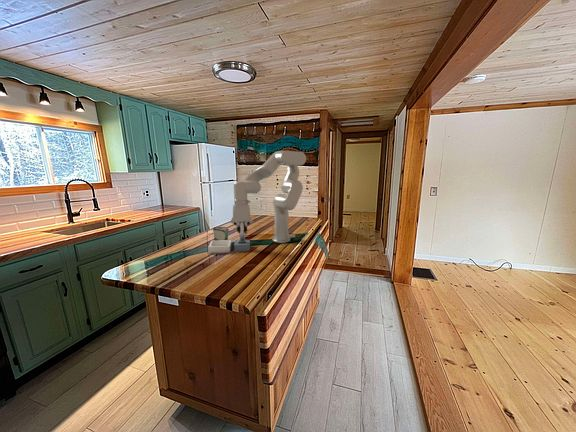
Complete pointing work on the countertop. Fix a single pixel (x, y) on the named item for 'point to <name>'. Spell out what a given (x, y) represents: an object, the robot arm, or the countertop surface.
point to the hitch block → (242, 245)
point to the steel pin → (242, 231)
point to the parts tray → (219, 246)
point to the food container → (220, 233)
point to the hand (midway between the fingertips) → (242, 232)
